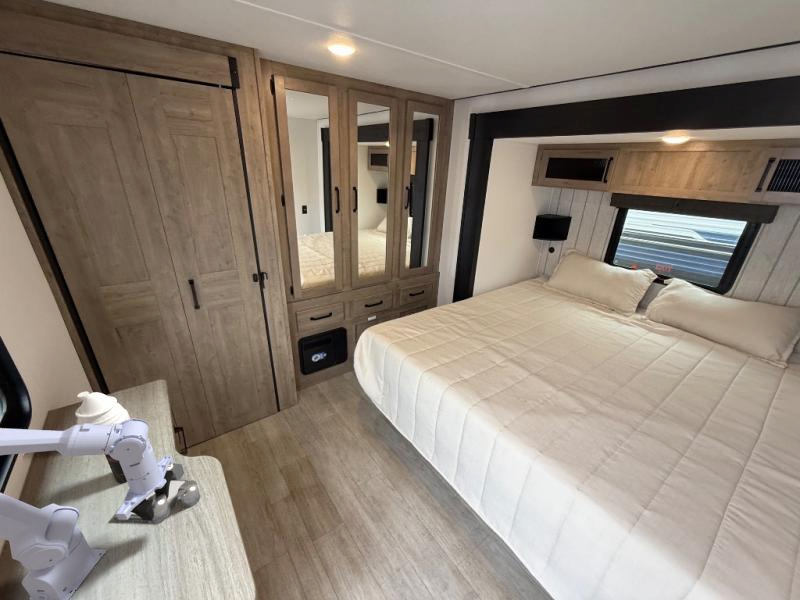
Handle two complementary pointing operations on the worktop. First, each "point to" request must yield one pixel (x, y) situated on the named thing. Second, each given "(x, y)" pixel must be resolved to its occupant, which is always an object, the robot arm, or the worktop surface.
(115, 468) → the deodorant
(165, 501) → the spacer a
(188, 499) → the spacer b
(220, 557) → the worktop surface
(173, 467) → the scale
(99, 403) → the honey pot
